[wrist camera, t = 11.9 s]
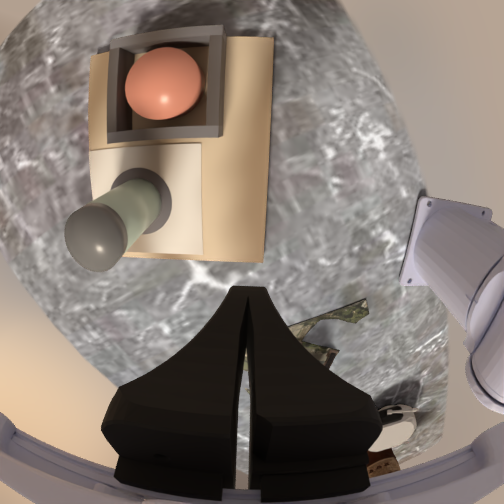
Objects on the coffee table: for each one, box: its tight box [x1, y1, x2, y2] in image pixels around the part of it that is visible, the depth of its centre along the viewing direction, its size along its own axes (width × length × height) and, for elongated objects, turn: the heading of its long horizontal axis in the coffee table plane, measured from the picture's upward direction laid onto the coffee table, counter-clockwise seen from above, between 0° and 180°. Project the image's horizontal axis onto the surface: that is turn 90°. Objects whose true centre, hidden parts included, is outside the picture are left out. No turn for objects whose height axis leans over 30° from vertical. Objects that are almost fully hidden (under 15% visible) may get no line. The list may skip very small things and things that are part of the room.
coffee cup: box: [366, 448, 400, 478], centre depth 33 cm, size 9×8×13 cm
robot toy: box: [369, 404, 419, 452], centre depth 32 cm, size 12×4×15 cm
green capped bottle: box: [65, 178, 162, 272], centre depth 16 cm, size 4×4×7 cm
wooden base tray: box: [88, 25, 274, 263], centre depth 17 cm, size 13×16×3 cm
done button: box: [125, 47, 205, 120], centre depth 14 cm, size 5×5×2 cm
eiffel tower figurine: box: [243, 299, 369, 394], centre depth 21 cm, size 15×10×13 cm
